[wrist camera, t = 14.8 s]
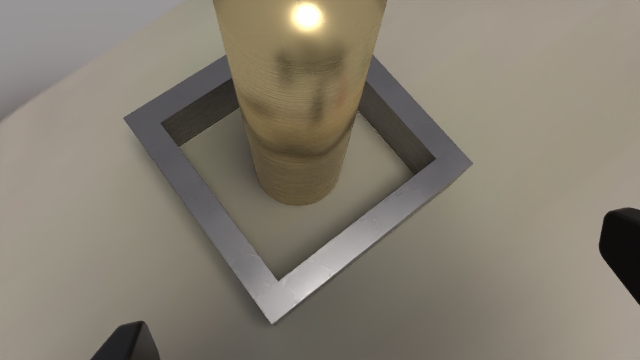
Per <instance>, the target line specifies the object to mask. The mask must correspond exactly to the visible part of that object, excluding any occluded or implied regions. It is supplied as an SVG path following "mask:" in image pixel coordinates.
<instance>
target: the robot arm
mask: <svg viewBox="0 0 640 360" xmlns="http://www.w3.org/2000/svg"><path fill="white" fill-rule="evenodd" d="M599 251H600V254H601V256H602V257H603V259H604V260H605V261H606V263H607V264H608V265H609V267H610V268H611V269H612V270H613V272H614V273H615V274H616V276H617V277H618V278H619V279H620V281H621V282H622V283H623V285H624V286H625V287H626V288H627V290H628V291H629V292H630V294H631V295H632V296H633V297H634V299H635V300H636V301H637V303H638V304H639V305H640V210H638V209H634V208H621V209H617V210H613V211H609V212H608V213H607V214H606V215H605V216H604V220H603V225H602V230H601V236H600V241H599ZM90 360H160V357H159V353H158V350H157V348H156V345H155V343H154V341H153V338H152V336H151V333H150V331H149V328H148V326H147V325H146V323H145V322H143V321H137V322H132V323H128V324H124V325H121V326H119V327H118V328H117V329H116V330H115V331H114V332H113V334H112V335H111V336H110V337H109V338H108V339H107V341H106V342H105V343H104V344H103V345H102V346H101V348H100V349H99V350H98V351H97V352H96V353H95V355H94V356H93V357H92V358H91V359H90Z"/></svg>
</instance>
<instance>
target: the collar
mask: <svg viewBox="0 0 640 360" xmlns="http://www.w3.org/2000/svg"><path fill="white" fill-rule="evenodd" d="M237 108H239V103H238V99H237V95H236V91H235V87H234V83H233V79H232V75H231V71H230V67H229V63H228V59H227V55H225V56H223V57H222V58H220V59H218V60H217V61H215V62H213V63H212V64H210V65H209V66H207V67H205V68H204V69H202V70H200V71H199V72H197V73H195V74H194V75H192V76H191V77H189V78H187V79H186V80H184V81H182V82H181V83H179V84H178V85H176V86H174V87H173V88H171V89H169V90H168V91H166V92H165V93H163V94H161V95H160V96H158V97H156V98H155V99H153V100H152V101H150V102H148V103H147V104H145V105H143V106H142V107H140V108H138V109H137V110H135V111H134V112H132V113H130V114H129V115H127V116H125V117H124V118H123V119H124V120H125V121H126V123H127V124H128V125H129V127H130V128H131V130H132V131H133V132H134V134H135V135H136V137H137V138H138V139H139V141H140V142H141V144H142V145H143V146H144V148H145V149H146V151H147V152H148V153H149V155H150V156H151V157H152V159H153V160H154V162H155V163H156V164H157V166H158V167H159V169H160V170H161V171H162V173H163V174H164V176H165V177H166V178H167V180H168V181H169V182H170V184H171V185H172V187H173V188H174V189H175V191H176V192H177V194H178V195H179V196H180V198H181V199H182V201H183V202H184V203H185V205H186V206H187V207H188V209H189V210H190V212H191V213H192V214H193V216H194V217H195V219H196V220H197V221H198V223H199V224H200V226H201V227H202V228H203V230H204V231H205V232H206V234H207V235H208V237H209V238H210V239H211V241H212V242H213V244H214V245H215V246H216V248H217V249H218V251H219V252H220V253H221V255H222V256H223V258H224V259H225V260H226V262H227V263H228V264H229V266H230V267H231V269H232V270H233V271H234V273H235V274H236V276H237V277H238V278H239V280H240V281H241V283H242V284H243V285H244V287H245V288H246V289H247V291H248V292H249V294H250V295H251V296H252V298H253V299H254V301H255V302H256V303H257V305H258V306H259V308H260V309H261V310H262V312H263V313H264V314H265V316H266V317H267V319H268V320H269V321H270V323H271V324H272V325H276V324H277V323H279V322H280V321H281V320H282V319H284V318H285V317H286V316H287V315H289V314H290V313H291V312H292V311H294V310H295V309H296V308H297V307H299V306H300V305H301V304H302V303H304V302H305V301H306V300H307V299H309V298H310V297H311V296H312V295H314V294H315V293H316V292H317V291H319V290H320V289H321V288H322V287H324V286H325V285H326V284H327V283H329V282H330V281H331V280H332V279H334V278H335V277H336V276H337V275H339V274H340V273H341V272H342V271H344V270H345V269H346V268H347V267H349V266H350V265H351V264H352V263H354V262H355V261H356V260H357V259H359V258H360V257H361V256H362V255H364V254H365V253H366V252H367V251H369V250H370V249H371V248H372V247H374V246H375V245H376V244H377V243H379V242H380V241H381V240H382V239H384V238H385V237H386V236H387V235H389V234H390V233H391V232H392V231H394V230H395V229H396V228H397V227H399V226H400V225H401V224H402V223H404V222H405V221H406V220H407V219H409V218H410V217H411V216H412V215H414V214H415V213H416V212H417V211H419V210H420V209H421V208H422V207H424V206H425V205H426V204H427V203H428V202H430V201H431V200H432V199H433V198H435V197H436V196H437V195H438V194H440V193H441V192H442V191H443V190H445V189H446V188H447V187H448V186H450V185H451V184H452V183H453V182H454V181H455V180H456V179H457V178H458V177H460V176H461V175H462V174H463V173H464V172H465V171H466V170H467V169H468V168H469V167H470V166H471V165H472V164H473V163H472V162H471V161H470V160H469V158H468V157H467V156H466V155H465V154H464V153H463V152H462V151H461V150H460V149H459V148H458V147H457V145H456V144H455V143H454V142H453V141H452V140H451V139H450V138H449V137H448V136H447V135H446V134H445V132H444V131H443V130H442V129H441V128H440V127H439V126H438V125H437V124H436V123H435V122H434V121H433V119H432V118H431V117H430V116H429V115H428V114H427V113H426V112H425V111H424V110H423V109H422V108H421V106H420V105H419V104H418V103H417V102H416V101H415V100H414V99H413V98H412V97H411V96H410V95H409V93H408V92H407V91H406V90H405V89H404V88H403V87H402V86H401V85H400V84H399V83H398V81H397V80H396V79H395V78H394V77H393V76H392V75H391V74H390V73H389V72H388V71H387V70H386V68H385V67H384V66H383V65H382V64H381V63H380V62H379V61H378V60H377V59H376V58H375V57H374V55H373V54H372V58H371V62H370V65H369V69H368V73H367V76H366V80H365V84H364V87H363V91H362V95H361V98H360V102H359V105H358V110H359V111H360V112H361V113H362V114H363V115H364V117H365V118H366V119H367V120H368V121H369V122H370V123H371V124H372V126H373V127H374V128H375V129H376V130H377V131H378V132H379V134H380V135H381V136H382V137H383V138H384V139H385V140H386V142H387V143H388V144H389V145H390V146H391V147H392V148H393V149H394V151H395V152H396V153H397V154H398V155H399V156H400V157H401V159H402V160H403V161H404V162H405V163H406V164H407V165H408V167H409V168H410V169H411V170H412V171H413V172H414V173H415V174H416V175H415V176H414V177H412V178H411V179H410V180H408V181H407V182H406V183H405V184H403V185H402V186H401V187H399V188H398V189H397V190H396V191H394V192H393V193H392V194H390V195H389V196H388V197H387V198H385V199H384V200H383V201H381V202H380V203H379V204H377V205H376V206H375V207H374V208H372V209H371V210H370V211H368V212H367V213H366V214H365V215H363V216H362V217H361V218H359V219H358V220H357V221H356V222H354V223H353V224H352V225H350V226H349V227H348V228H347V229H345V230H344V231H343V232H341V233H340V234H339V235H338V236H336V237H335V238H334V239H332V240H331V241H330V242H328V243H327V244H326V245H325V246H323V247H322V248H321V249H319V250H318V251H317V252H316V253H314V254H313V255H312V256H310V257H309V258H308V259H307V260H305V261H304V262H303V263H301V264H300V265H299V266H298V267H296V268H295V269H294V270H292V271H291V272H290V273H288V274H287V275H286V276H285V277H283V278H282V279H281V280H279V281H277V280H276V278H275V277H274V276H273V274H272V273H271V272H270V270H269V269H268V268H267V266H266V265H265V264H264V262H263V261H262V259H261V258H260V257H259V255H258V254H257V253H256V251H255V250H254V249H253V247H252V246H251V245H250V243H249V242H248V241H247V239H246V238H245V237H244V235H243V234H242V232H241V231H240V230H239V228H238V227H237V226H236V224H235V223H234V222H233V220H232V219H231V218H230V216H229V215H228V214H227V212H226V211H225V210H224V208H223V207H222V206H221V204H220V203H219V201H218V200H217V199H216V197H215V196H214V195H213V193H212V192H211V191H210V189H209V188H208V187H207V185H206V184H205V183H204V181H203V180H202V179H201V177H200V176H199V175H198V173H197V172H196V170H195V169H194V168H193V166H192V165H191V164H190V162H189V161H188V160H187V158H186V157H185V156H184V154H183V153H182V152H181V150H180V149H179V148H178V147H179V146H180V145H182V144H183V143H185V142H186V141H188V140H189V139H191V138H192V137H194V136H195V135H197V134H199V133H200V132H202V131H203V130H205V129H206V128H208V127H209V126H211V125H212V124H214V123H215V122H217V121H219V120H220V119H222V118H223V117H225V116H226V115H228V114H229V113H231V112H232V111H234V110H235V109H237Z"/></svg>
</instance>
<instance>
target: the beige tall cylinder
mask: <svg viewBox="0 0 640 360" xmlns="http://www.w3.org/2000/svg"><path fill="white" fill-rule="evenodd" d="M386 2H387V0H213V4H214V8H215V12H216V16H217V20H218V24H219V28H220V32H221V35H222V39H223V43H224V47H225V51H226V55H227V59H228V63H229V67H230V71H231V75H232V79H233V83H234V87H235V91H236V95H237V99H238V103H239V107H240V110H241V114H242V118H243V122H244V126H245V130H246V134H247V138H248V142H249V146H250V150H251V154H252V158H253V162H254V166H255V170H256V174H257V177H258V180H259V182H260V184H261V186H262V187H263V189H264V190H265V191H266V192H267V193H268V194H269V195H270V196H271V197H273V198H274V199H276V200H277V201H280V202H282V203H285V204H288V205H296V206H301V205H308V204H312V203H315V202H317V201H319V200H321V199H322V198H324V197H325V196H326V195H328V194H329V193H330V192H331V190H332V189H333V188H334V186H335V185H336V183H337V181H338V178H339V175H340V171H341V168H342V164H343V160H344V157H345V153H346V149H347V146H348V142H349V138H350V135H351V131H352V127H353V124H354V120H355V116H356V113H357V109H358V105H359V102H360V98H361V95H362V91H363V87H364V84H365V80H366V76H367V73H368V69H369V65H370V62H371V58H372V54H373V51H374V47H375V43H376V40H377V36H378V32H379V29H380V25H381V21H382V18H383V14H384V11H385V7H386Z"/></svg>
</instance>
